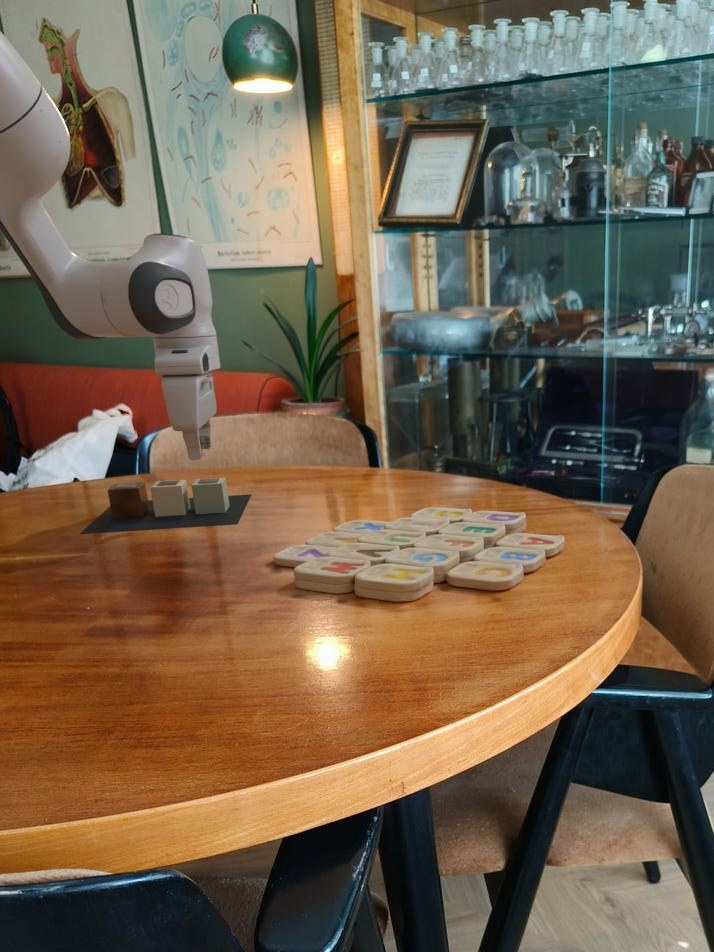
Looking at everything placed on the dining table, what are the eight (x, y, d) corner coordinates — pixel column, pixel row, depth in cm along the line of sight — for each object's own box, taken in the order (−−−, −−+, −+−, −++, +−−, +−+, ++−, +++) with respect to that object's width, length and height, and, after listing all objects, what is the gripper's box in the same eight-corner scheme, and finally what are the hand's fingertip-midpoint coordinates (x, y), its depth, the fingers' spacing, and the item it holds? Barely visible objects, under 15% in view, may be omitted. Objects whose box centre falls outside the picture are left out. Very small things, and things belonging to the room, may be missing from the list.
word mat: (79, 536, 125) (79, 533, 125) (114, 504, 144) (114, 502, 144) (237, 526, 128) (237, 524, 128) (252, 496, 146) (251, 494, 146)
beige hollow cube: (155, 516, 133) (150, 486, 132) (161, 510, 138) (156, 480, 136) (185, 515, 134) (181, 485, 132) (190, 508, 138) (186, 479, 136)
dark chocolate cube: (112, 519, 133) (107, 489, 131) (120, 512, 137) (114, 483, 135) (143, 517, 133) (138, 487, 131) (150, 510, 137) (144, 481, 136)
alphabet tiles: (380, 514, 132) (379, 498, 131) (586, 534, 118) (587, 516, 118) (231, 579, 104) (228, 559, 103) (478, 614, 91) (477, 592, 90)
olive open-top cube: (195, 514, 134) (191, 484, 132) (200, 507, 138) (195, 478, 136) (225, 512, 135) (221, 482, 133) (229, 505, 139) (225, 476, 137)
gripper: (178, 353, 137) (190, 443, 142) (151, 363, 118) (166, 466, 123) (219, 352, 138) (230, 442, 143) (199, 361, 119) (212, 464, 124)
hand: (200, 453), depth 133 cm, fingers open, 8 cm apart
